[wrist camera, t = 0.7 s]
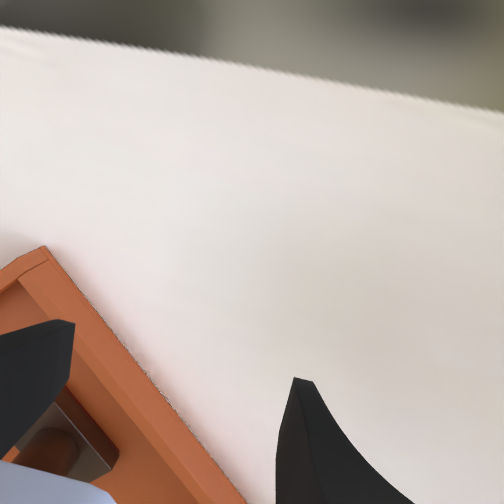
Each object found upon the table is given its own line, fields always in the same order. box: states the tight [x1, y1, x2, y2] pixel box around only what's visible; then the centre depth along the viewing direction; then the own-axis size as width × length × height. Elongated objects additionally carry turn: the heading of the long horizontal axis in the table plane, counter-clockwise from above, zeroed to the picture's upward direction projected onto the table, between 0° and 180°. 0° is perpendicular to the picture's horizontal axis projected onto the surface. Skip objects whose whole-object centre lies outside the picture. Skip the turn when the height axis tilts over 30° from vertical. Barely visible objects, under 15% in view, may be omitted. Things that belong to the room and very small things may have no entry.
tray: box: [0, 246, 247, 504], centre depth 27 cm, size 20×14×2 cm
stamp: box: [11, 385, 120, 483], centre depth 24 cm, size 6×4×6 cm
